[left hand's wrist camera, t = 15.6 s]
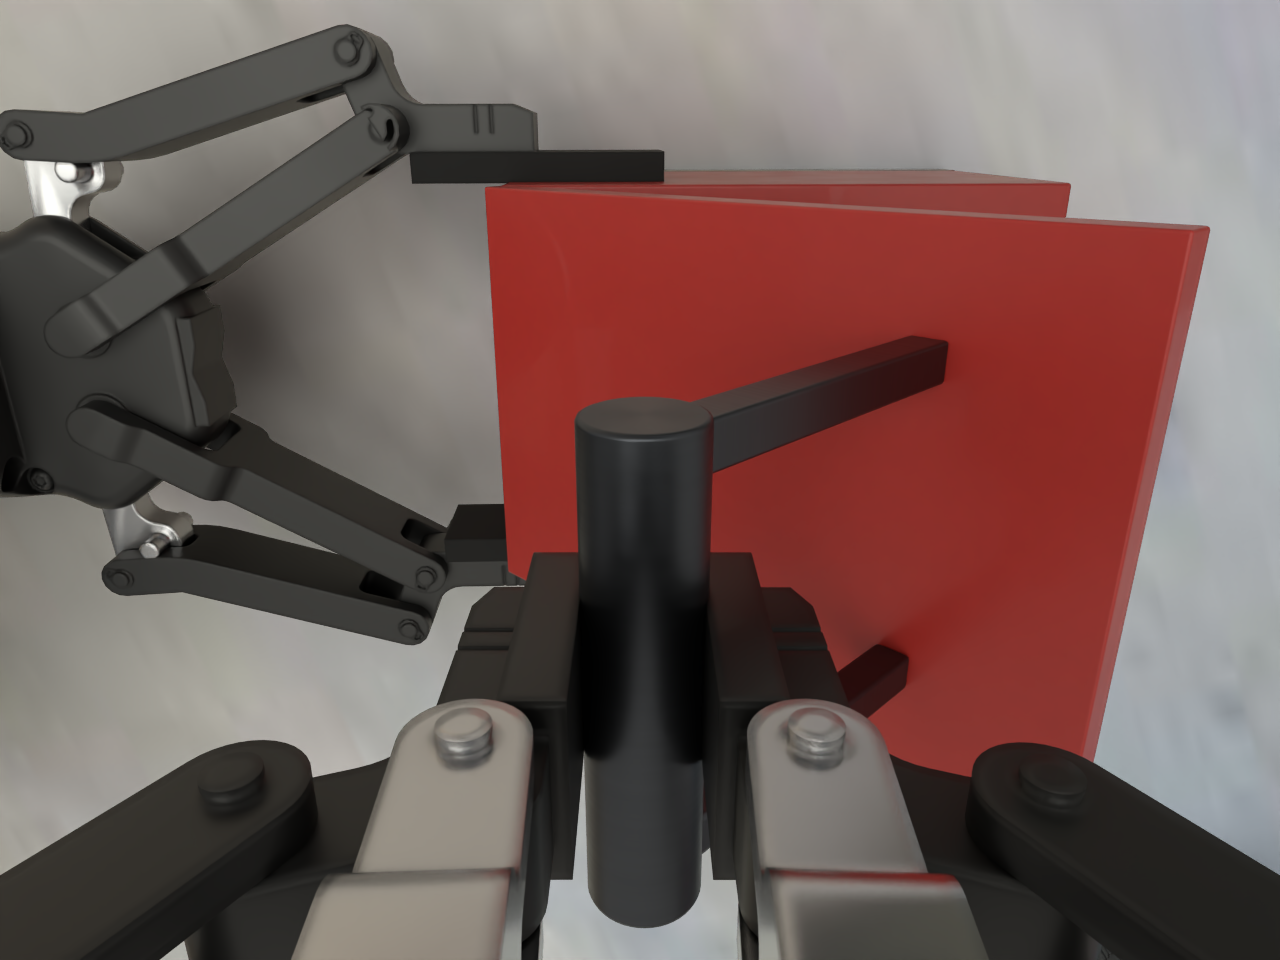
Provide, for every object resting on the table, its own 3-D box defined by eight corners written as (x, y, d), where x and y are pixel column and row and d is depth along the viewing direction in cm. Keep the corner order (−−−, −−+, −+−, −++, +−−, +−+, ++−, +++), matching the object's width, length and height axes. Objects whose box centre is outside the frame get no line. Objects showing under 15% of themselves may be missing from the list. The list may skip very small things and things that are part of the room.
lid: (1212, 225, 12) (904, 303, 7) (1079, 831, 16) (811, 1201, 10) (511, 185, 22) (157, 202, 16) (530, 562, 25) (246, 678, 20)
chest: (944, 169, 31) (1073, 182, 22) (912, 448, 35) (1012, 553, 26) (531, 170, 30) (499, 184, 22) (543, 452, 34) (520, 560, 25)
